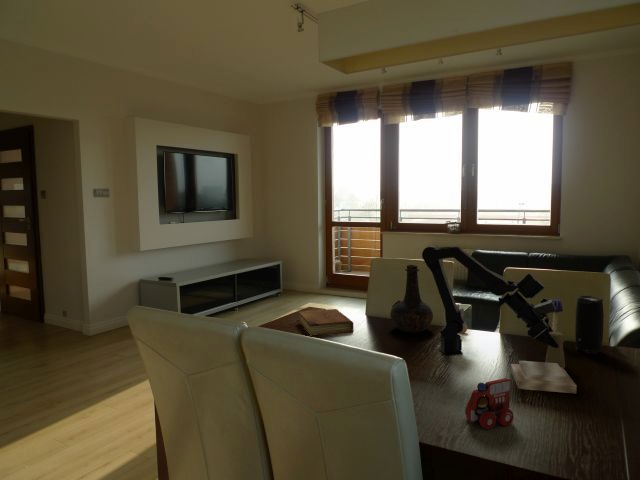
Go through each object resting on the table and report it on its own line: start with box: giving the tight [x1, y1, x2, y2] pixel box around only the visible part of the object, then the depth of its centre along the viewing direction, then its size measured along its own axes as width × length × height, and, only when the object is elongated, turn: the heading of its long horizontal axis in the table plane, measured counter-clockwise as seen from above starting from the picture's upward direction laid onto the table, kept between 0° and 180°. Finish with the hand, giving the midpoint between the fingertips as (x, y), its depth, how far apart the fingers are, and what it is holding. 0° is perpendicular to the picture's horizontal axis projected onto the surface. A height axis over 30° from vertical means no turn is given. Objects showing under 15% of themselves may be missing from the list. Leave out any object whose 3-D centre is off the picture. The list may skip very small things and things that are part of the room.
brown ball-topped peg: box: [544, 331, 566, 369], centre depth 149 cm, size 6×6×11 cm
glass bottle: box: [389, 264, 434, 334], centre depth 193 cm, size 18×18×28 cm
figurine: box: [456, 304, 468, 334], centre depth 188 cm, size 8×6×12 cm
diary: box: [298, 308, 355, 336], centre depth 200 cm, size 23×19×6 cm
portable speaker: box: [574, 295, 605, 355], centre depth 162 cm, size 9×9×20 cm
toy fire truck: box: [464, 377, 515, 430], centre depth 111 cm, size 7×12×10 cm, turn 109°
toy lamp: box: [551, 298, 564, 332], centre depth 172 cm, size 5×5×17 cm
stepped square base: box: [510, 360, 577, 394], centre depth 136 cm, size 15×15×4 cm
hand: (557, 343), depth 149 cm, fingers open, 9 cm apart
